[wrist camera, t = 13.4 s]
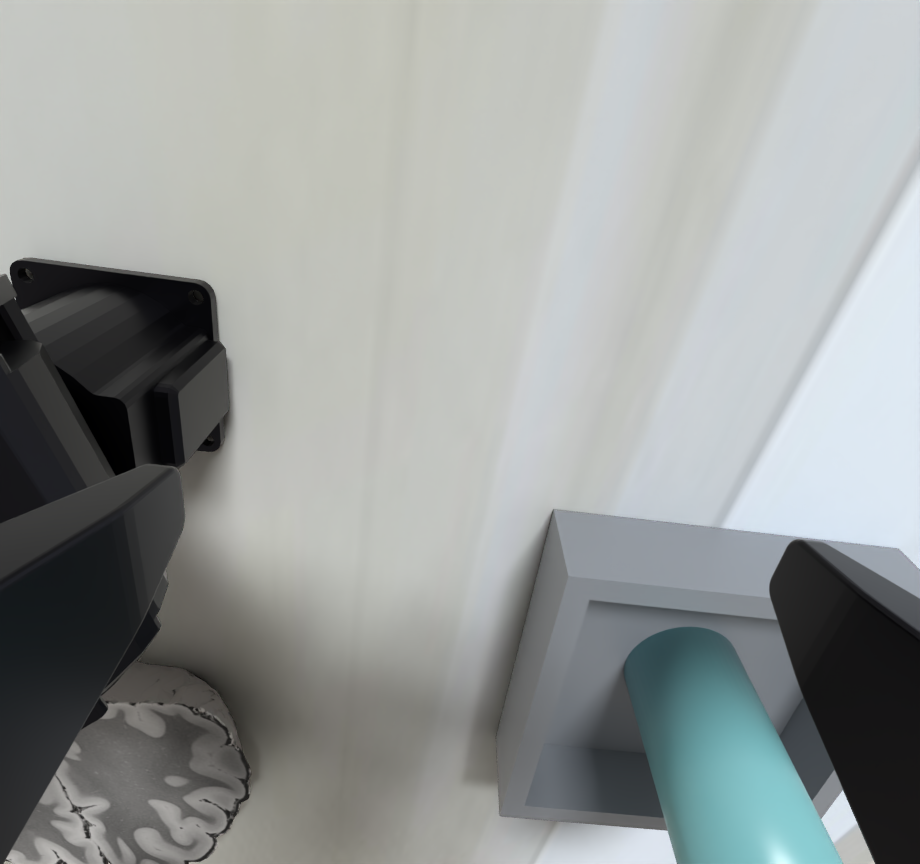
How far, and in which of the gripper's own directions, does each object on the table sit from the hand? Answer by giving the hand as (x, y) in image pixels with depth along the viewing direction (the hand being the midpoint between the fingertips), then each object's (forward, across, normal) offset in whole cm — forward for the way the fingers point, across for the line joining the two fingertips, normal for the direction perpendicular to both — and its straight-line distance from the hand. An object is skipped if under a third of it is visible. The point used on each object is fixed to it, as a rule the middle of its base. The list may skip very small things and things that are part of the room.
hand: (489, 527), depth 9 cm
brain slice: (+14, +17, +27) cm, 35 cm away
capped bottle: (+12, -12, +16) cm, 23 cm away
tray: (+13, -12, +16) cm, 24 cm away
